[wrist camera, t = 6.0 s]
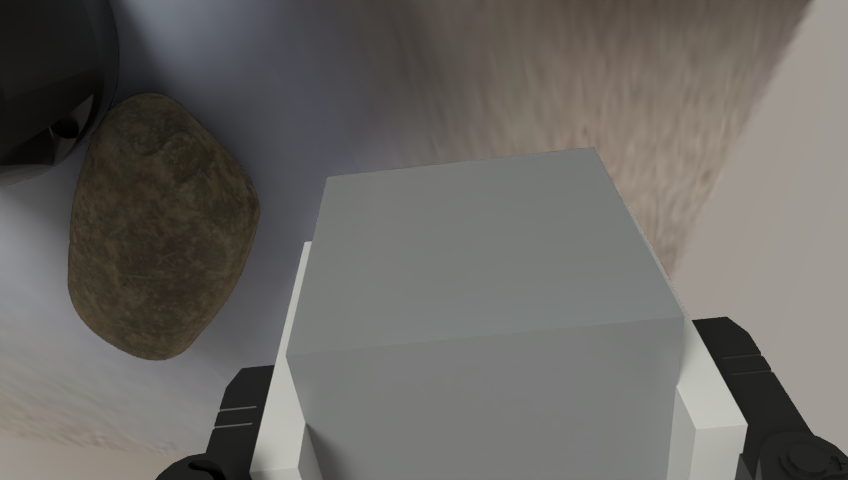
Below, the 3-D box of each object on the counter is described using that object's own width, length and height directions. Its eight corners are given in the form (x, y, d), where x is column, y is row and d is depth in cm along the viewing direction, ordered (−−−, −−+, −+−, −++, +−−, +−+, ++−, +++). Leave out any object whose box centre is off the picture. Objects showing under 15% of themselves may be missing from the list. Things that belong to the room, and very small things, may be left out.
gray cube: (368, 372, 19) (352, 582, 14) (326, 176, 16) (285, 355, 10) (589, 351, 18) (658, 558, 13) (593, 147, 15) (684, 316, 10)
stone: (300, 121, 34) (246, 305, 29) (238, 235, 45) (192, 380, 40) (119, 48, 31) (25, 237, 26) (102, 188, 43) (34, 338, 38)
